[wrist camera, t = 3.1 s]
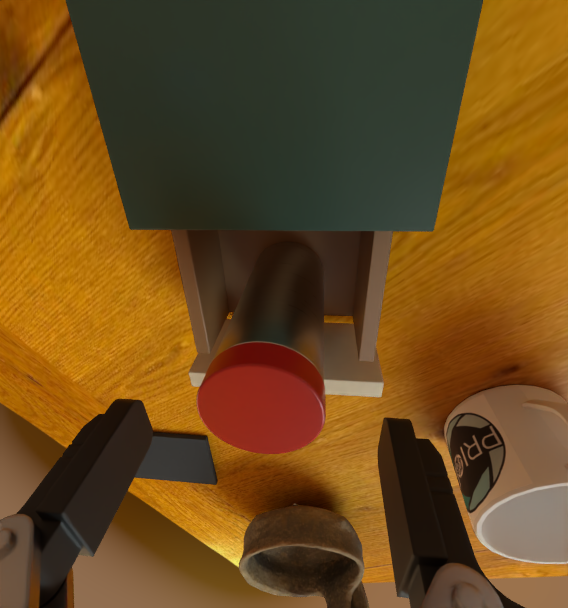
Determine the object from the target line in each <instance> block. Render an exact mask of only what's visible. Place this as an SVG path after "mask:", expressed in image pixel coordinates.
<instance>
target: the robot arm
mask: <svg viewBox="0 0 568 608" xmlns="http://www.w3.org/2000/svg"><path fill="white" fill-rule="evenodd" d="M152 437H153V430H152V426H151V424H150V421H149V418H148V415H147V413H146V410H145V407H144V404H143V402H142V401H141V400H131V399H116V400H115V401H114V402H113V403H112V404H111V406H110V407H109V408H108V410H107V411H106V412H105V414H99V415H97V416H96V417H95V418H94V419H92V420H91V421H90V422H89V423H87V424H86V425H85V426H84V427H83V428H82V429H81V431H80V432H79V433H78V435H77V436H76V437H75V439H74V440H73V441H72V444H71V445H69V446H68V448H67V449H66V450H65V452H64V453H63V456H62V457H60V458H59V460H58V461H57V462H56V464H55V465H54V466H53V468H52V469H51V470H50V472H49V473H48V474H47V475H46V477H45V478H44V479H43V481H42V482H41V483H40V485H39V486H38V487H37V489H36V490H35V492H34V493H33V494H32V495H31V497H30V498H29V499H28V501H27V502H26V503H25V505H24V506H23V507H22V508H21V509H20V510H19V511H18V512H17V514H14V515H11V516H8V517H5V518H3V519H1V520H0V608H74V585H73V570H72V565H73V564H74V562H75V560H76V558H77V556H78V555H85V556H92V557H93V556H94V554H95V552H96V550H97V548H98V546H99V544H100V543H101V541H102V539H103V537H104V535H105V533H106V531H107V529H108V527H109V525H110V523H111V521H112V519H113V517H114V515H115V513H116V512H117V510H118V508H119V506H120V504H121V502H122V500H123V498H124V496H125V494H126V492H127V490H128V488H129V486H130V485H131V483H132V481H133V479H134V477H135V475H136V473H137V471H138V469H139V467H140V465H141V463H142V461H143V459H144V457H145V455H146V454H147V452H148V450H149V448H150V445H151V442H152ZM378 468H379V475H380V482H381V489H382V495H383V502H384V509H385V516H386V523H387V530H388V536H389V543H390V550H391V557H392V564H393V570H394V577H395V584H396V591H397V596H398V597H405V598H409V599H410V606H411V608H525V607H523V606H521V605H519V604H517V603H515V602H513V601H511V600H510V599H508V598H507V597H506V596H504V595H503V594H502V593H501V592H500V591H498V590H497V589H496V588H495V587H494V586H493V585H492V584H491V582H490V581H489V580H488V579H487V577H486V576H485V575H484V573H483V572H482V570H481V568H480V567H479V565H478V563H477V560H476V558H475V555H474V552H473V549H472V546H471V543H470V540H469V537H468V534H467V531H466V528H465V525H464V522H463V519H462V516H461V513H460V510H459V507H458V504H457V501H456V498H455V495H454V494H453V489H452V486H451V483H450V480H449V478H448V476H447V475H448V474H447V471H446V468H445V465H444V462H443V459H442V456H441V455H440V453H439V452H438V451H437V449H436V448H435V447H434V445H433V444H432V443H431V442H430V440H429V439H417V438H416V437H415V433H414V430H413V426H412V423H411V421H410V420H409V419H398V418H384V420H383V425H382V430H381V435H380V440H379V446H378Z"/></svg>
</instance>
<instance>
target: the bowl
mask: <svg viewBox="0 0 568 608" xmlns="http://www.w3.org/2000/svg"><path fill="white" fill-rule="evenodd" d="M239 569H240V572H241V574H242V575H243V576H244V578H245V580H246V581H247V583H248V584H250V585H251V586H254V587H256V588H258V589H260V590H261V591H265V592H268V593H271V594H274V595H280V596H293V597H307V596H322V597H324V598H325V600H326V603H327V608H369V604H368V600H367V597H366V593H365V590H364V587H363V584H362V581H361V580H362V577H363V573H364V562H363V557H362V545H361V542H360V540H359V538H358V536H357V534H356V532H355V530H354V528H353V527H352V525H351V524H350V523H349V521H348V520H347V519H346V518H345V517H343V516H341V515H339V514H337V513H334V512H332V511H329V510H326V509H323V508H318V507H313V506H305V505H297V504H295V503H294V504H293V506H289V507H284V508H279V509H274V510H271V511H268V512H264V513H261V514H259V515H256V516H255V517H254V519H253V520H252V522H251V523H250V524H249V526H248V528H247V530H246V532H245V536H244V551H243V555H242V558H241V560H240V562H239Z"/></svg>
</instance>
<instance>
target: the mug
mask: <svg viewBox="0 0 568 608" xmlns="http://www.w3.org/2000/svg"><path fill="white" fill-rule="evenodd" d="M444 437H445V440H446V443H447V446H448V450H449V453H450V456H451V459H452V463H453V466H454V469H455V472H456V476H457V479H458V482H459V485H460V488H461V492H462V495H463V498H464V501H465V505H466V508H467V511H468V514H469V517H470V521H471V524H472V527H473V530H474V533H475V534H476V536H477V538H478V540H479V541H480V542H481V543H482V544H483V545H484V546H486V547H487V548H488V549H489V550H491V551H492V552H495V553H497V554H499V555H501V556H504V557H507V558H511V559H515V560H519V561H523V562H532V563H540V564H566V563H568V403H567V402H566V401H565V400H564V399H563V397H561V396H559V395H558V394H556V393H554V392H553V391H551V390H548V389H544V388H540V387H537V386H528V385H508V386H499V387H495V388H491V389H488V390H484V391H481V392H479V393H477V394H475V395H473V396H471V397H469V398H467V399H466V400H464V401H463V402H462V403H460V404H459V405H458V406H456V407H455V409H454V410H453V411H452V412H451V414H450V415H449V416H448V418H447V420H446V423H445V426H444Z"/></svg>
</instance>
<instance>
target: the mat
mask: <svg viewBox="0 0 568 608" xmlns="http://www.w3.org/2000/svg"><path fill="white" fill-rule="evenodd" d="M135 477H136V478H147V479H158V480H169V481H180V482H191V483H202V484H213V485H216V484H217V476H216V472H215V468H214V463H213V459H212V455H211V451H210V446H209V442H208V438H207V436H198V435H185V434H171V433H158V432H153V437H152V442H151V445H150V448H149V450H148V452H147V454H146V455H145V457H144V459H143V461H142V463H141V465H140V467H139V469H138V471H137V473H136V475H135Z"/></svg>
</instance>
